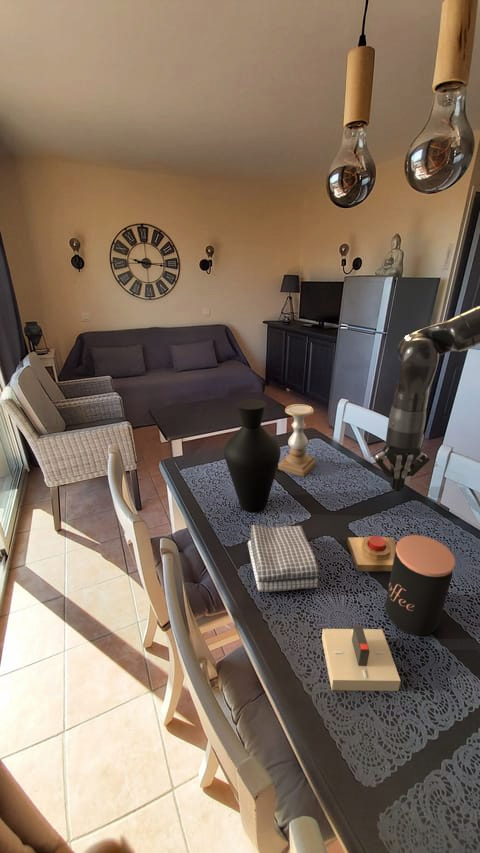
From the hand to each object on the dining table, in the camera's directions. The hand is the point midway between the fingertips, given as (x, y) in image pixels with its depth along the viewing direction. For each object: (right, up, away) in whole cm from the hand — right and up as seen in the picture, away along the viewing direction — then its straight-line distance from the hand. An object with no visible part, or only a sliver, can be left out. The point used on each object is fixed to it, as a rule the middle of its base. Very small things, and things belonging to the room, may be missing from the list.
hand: (395, 489), depth 89 cm
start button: (-3, -16, +5) cm, 17 cm away
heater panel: (-16, -31, -18) cm, 39 cm away
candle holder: (-16, 0, +50) cm, 53 cm away
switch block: (-3, -19, +7) cm, 20 cm away
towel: (-28, -21, +5) cm, 35 cm away
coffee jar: (-1, -26, -9) cm, 28 cm away
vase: (-34, -10, +29) cm, 46 cm away
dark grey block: (-16, -28, -20) cm, 37 cm away
